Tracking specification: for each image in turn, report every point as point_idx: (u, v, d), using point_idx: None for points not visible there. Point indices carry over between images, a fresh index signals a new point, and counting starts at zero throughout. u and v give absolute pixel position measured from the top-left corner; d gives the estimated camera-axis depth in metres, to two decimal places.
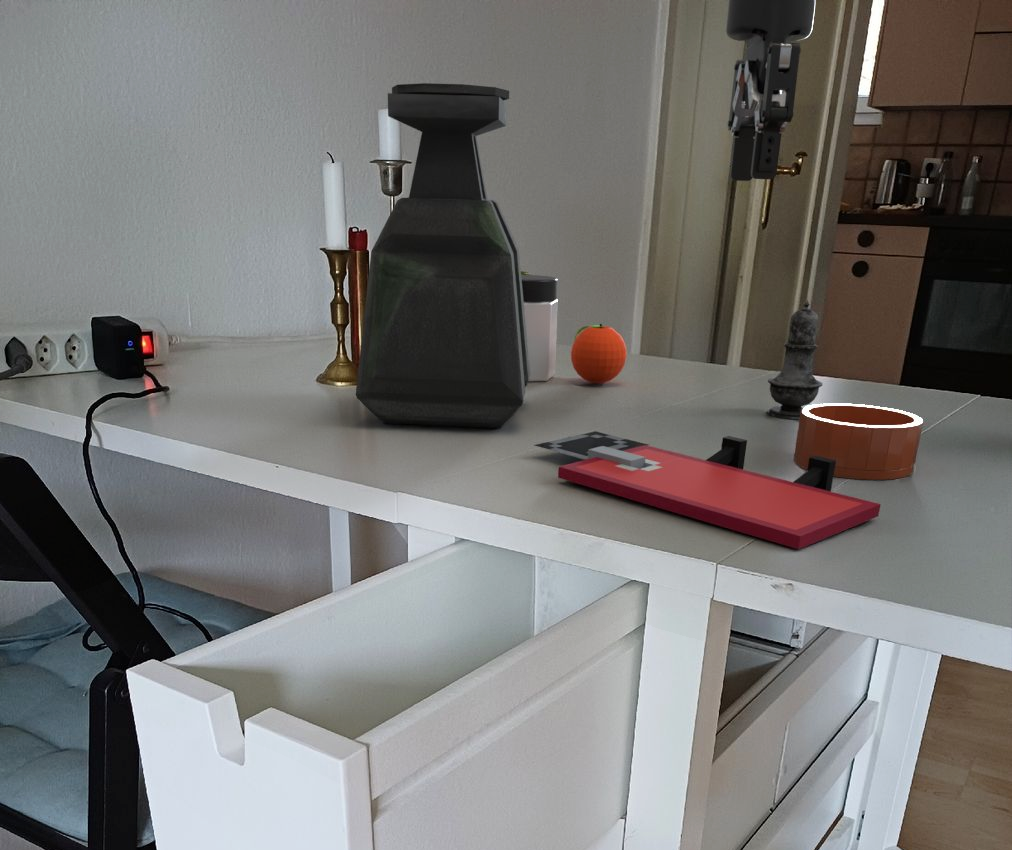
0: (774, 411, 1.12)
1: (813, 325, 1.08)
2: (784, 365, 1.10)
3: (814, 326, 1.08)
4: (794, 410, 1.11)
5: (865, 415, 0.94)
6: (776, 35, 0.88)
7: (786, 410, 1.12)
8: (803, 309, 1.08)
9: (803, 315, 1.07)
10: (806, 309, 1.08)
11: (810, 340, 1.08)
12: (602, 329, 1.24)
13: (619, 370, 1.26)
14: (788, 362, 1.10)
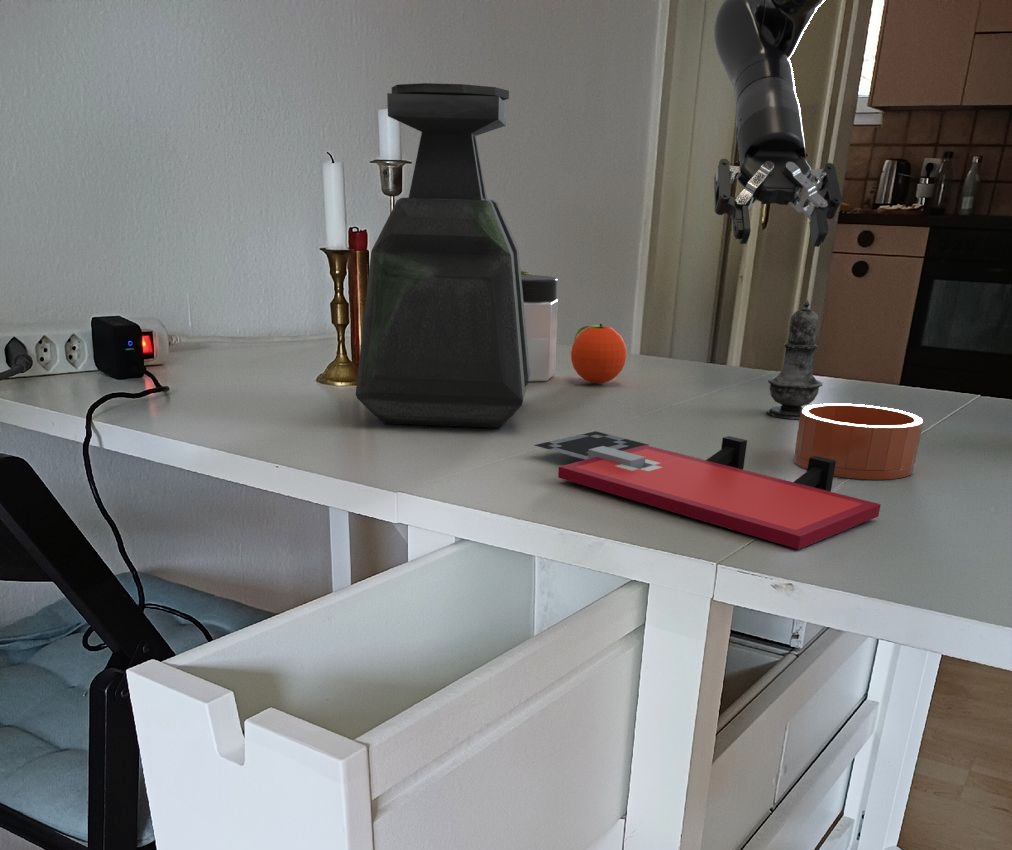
0: (774, 411, 1.12)
1: (813, 325, 1.08)
2: (784, 365, 1.10)
3: (814, 326, 1.08)
4: (794, 410, 1.11)
5: (865, 415, 0.94)
6: (741, 163, 1.19)
7: (786, 410, 1.12)
8: (803, 309, 1.08)
9: (803, 315, 1.07)
10: (806, 309, 1.08)
11: (810, 340, 1.08)
12: (602, 329, 1.24)
13: (619, 370, 1.26)
14: (788, 362, 1.10)
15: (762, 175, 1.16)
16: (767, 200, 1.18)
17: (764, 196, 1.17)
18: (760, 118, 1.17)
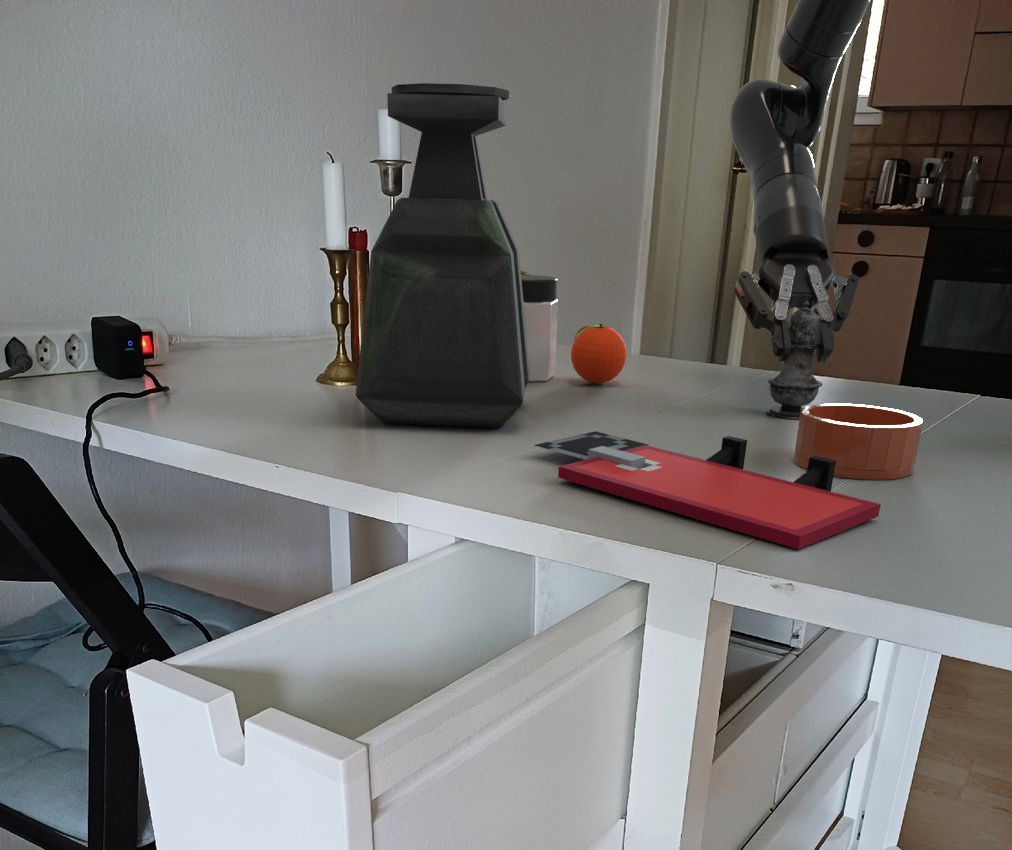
0: (774, 411, 1.12)
1: (813, 325, 1.08)
2: (784, 365, 1.10)
3: (814, 325, 1.08)
4: (794, 410, 1.11)
5: (865, 415, 0.94)
6: (759, 265, 1.12)
7: (786, 410, 1.12)
8: (803, 309, 1.08)
9: (803, 315, 1.07)
10: (806, 309, 1.08)
11: (810, 340, 1.08)
12: (602, 329, 1.24)
13: (619, 370, 1.26)
14: (788, 362, 1.10)
15: (788, 281, 1.09)
16: (787, 305, 1.11)
17: None
18: (780, 218, 1.10)
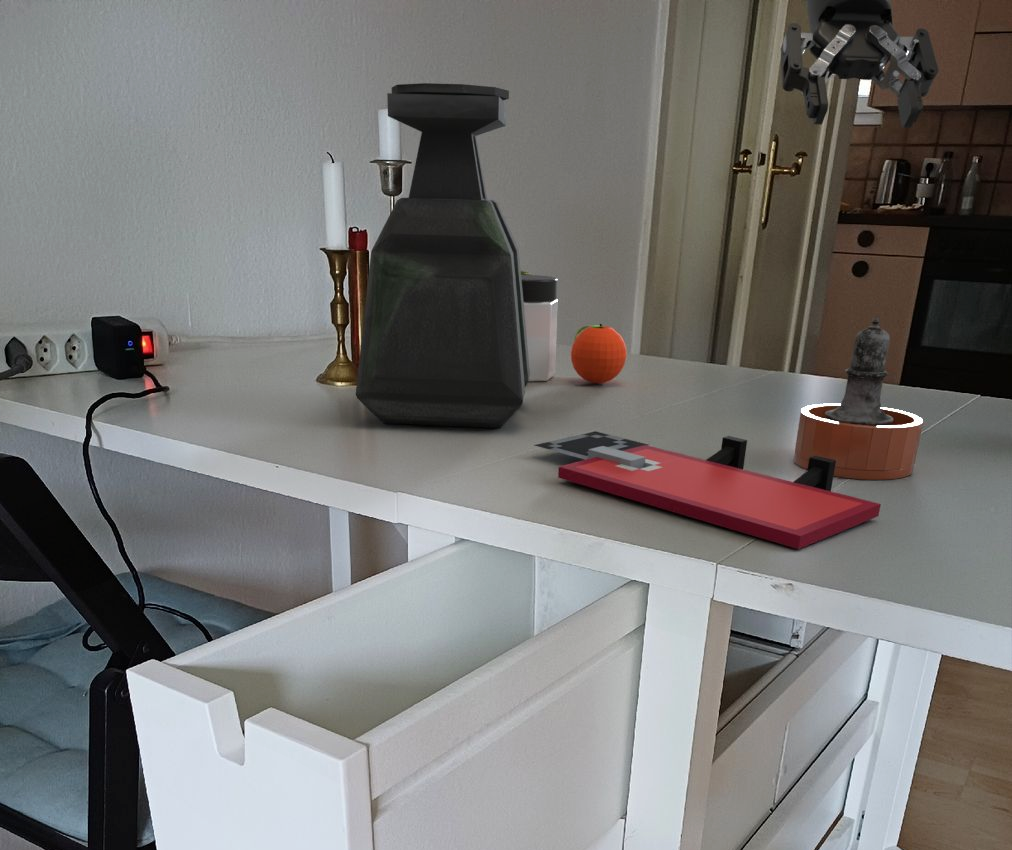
0: None
1: (884, 347, 0.87)
2: (846, 396, 0.89)
3: (885, 348, 0.87)
4: None
5: None
6: (813, 31, 0.98)
7: None
8: (871, 327, 0.87)
9: (872, 335, 0.86)
10: (875, 327, 0.87)
11: (880, 366, 0.87)
12: (602, 329, 1.24)
13: (619, 370, 1.26)
14: (851, 392, 0.89)
15: (841, 41, 0.96)
16: (846, 73, 0.97)
17: (842, 68, 0.97)
18: None
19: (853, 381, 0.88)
